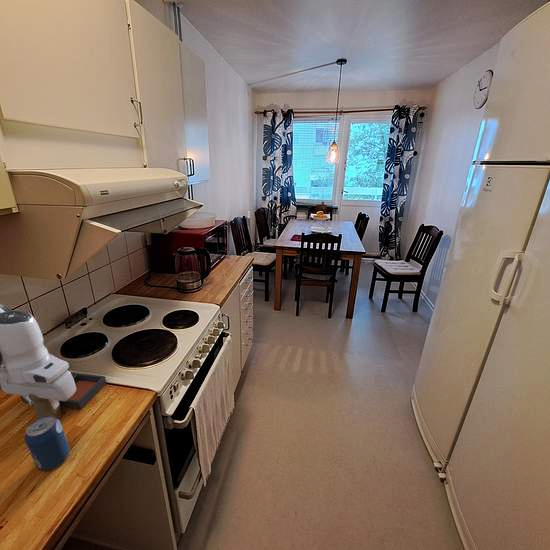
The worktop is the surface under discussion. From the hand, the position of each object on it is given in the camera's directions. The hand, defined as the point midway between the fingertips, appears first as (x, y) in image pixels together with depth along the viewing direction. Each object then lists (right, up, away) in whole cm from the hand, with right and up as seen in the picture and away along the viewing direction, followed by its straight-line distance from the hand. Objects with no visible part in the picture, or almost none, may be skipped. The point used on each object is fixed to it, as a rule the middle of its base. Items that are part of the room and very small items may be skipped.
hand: (45, 405), depth 82 cm
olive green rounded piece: (0, -4, +2) cm, 5 cm away
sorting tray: (-2, -1, +11) cm, 11 cm away
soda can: (+10, -9, -10) cm, 17 cm away
